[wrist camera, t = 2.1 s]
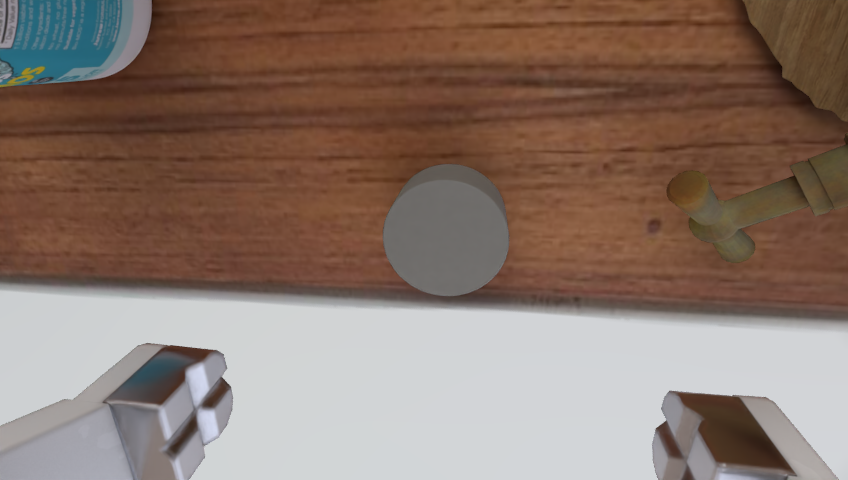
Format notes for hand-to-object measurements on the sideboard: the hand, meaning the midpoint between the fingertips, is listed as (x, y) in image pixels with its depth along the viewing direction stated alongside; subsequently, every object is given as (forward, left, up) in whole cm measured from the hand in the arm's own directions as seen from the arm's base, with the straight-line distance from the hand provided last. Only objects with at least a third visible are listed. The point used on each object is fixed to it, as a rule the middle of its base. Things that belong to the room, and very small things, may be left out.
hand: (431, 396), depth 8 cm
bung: (0, -1, -13) cm, 13 cm away
